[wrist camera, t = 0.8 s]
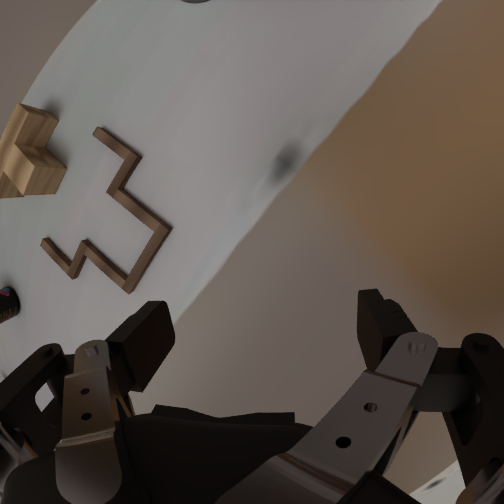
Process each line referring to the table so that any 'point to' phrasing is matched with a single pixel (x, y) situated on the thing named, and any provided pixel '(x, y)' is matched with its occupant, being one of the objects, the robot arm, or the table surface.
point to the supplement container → (8, 304)
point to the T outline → (132, 206)
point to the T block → (28, 154)
